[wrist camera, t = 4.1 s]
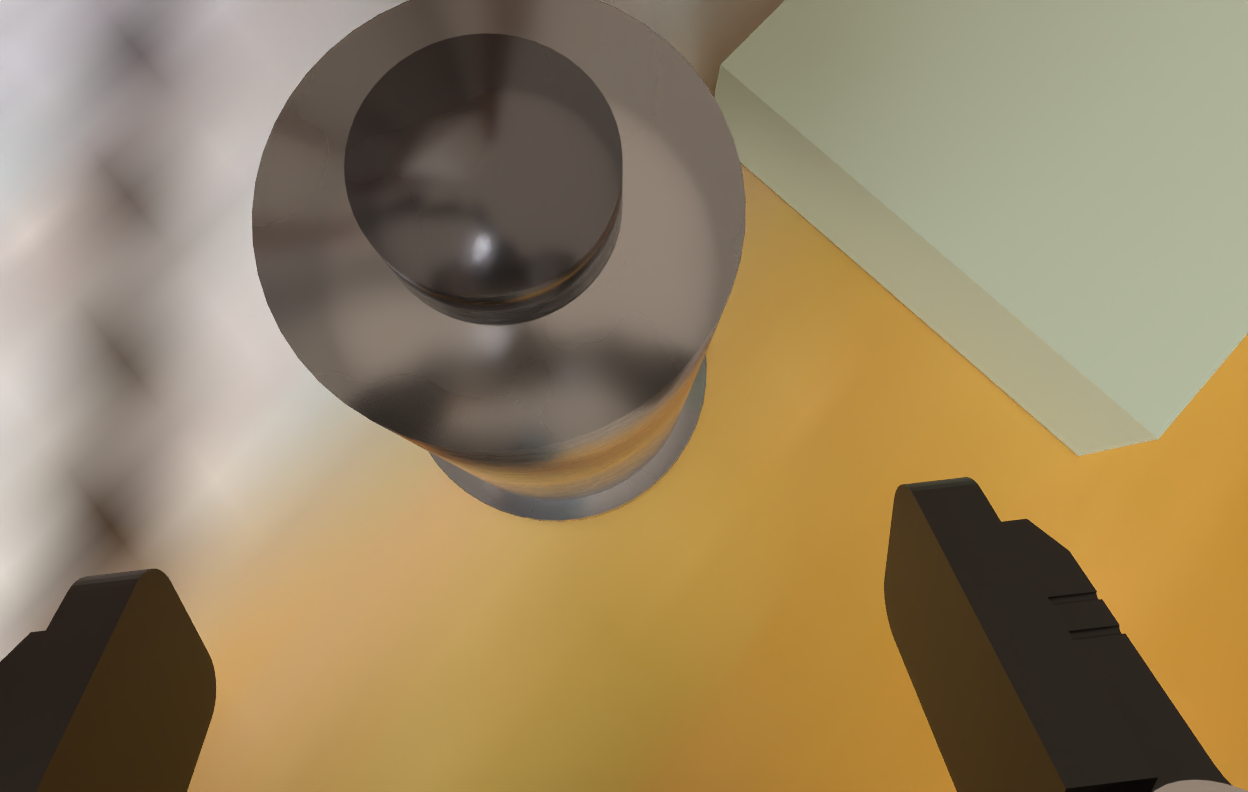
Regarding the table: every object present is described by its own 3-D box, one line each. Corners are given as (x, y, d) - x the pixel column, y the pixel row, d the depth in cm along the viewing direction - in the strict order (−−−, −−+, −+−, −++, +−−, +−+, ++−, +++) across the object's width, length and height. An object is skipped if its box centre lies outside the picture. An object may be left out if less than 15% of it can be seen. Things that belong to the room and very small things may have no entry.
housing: (354, 382, 20) (30, 173, 9) (555, 183, 21) (481, -230, 10) (562, 584, 19) (484, 623, 8) (762, 370, 20) (931, 148, 9)
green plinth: (706, 132, 21) (720, 64, 18) (1006, -170, 23) (1063, -278, 20) (1078, 456, 20) (1158, 439, 17) (1371, 114, 21) (1492, 43, 18)
